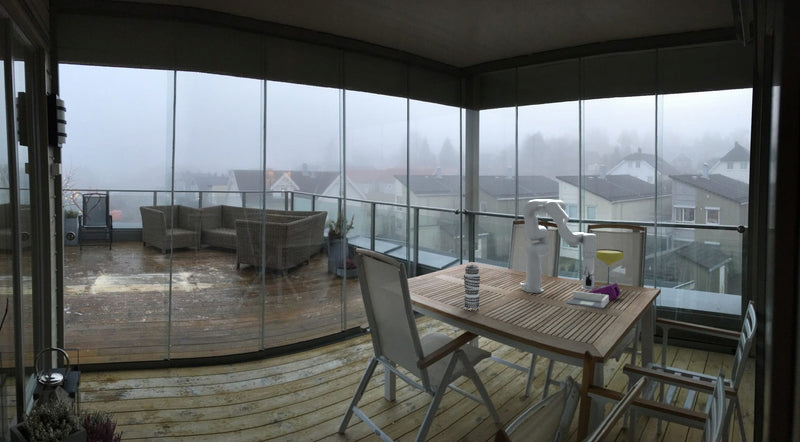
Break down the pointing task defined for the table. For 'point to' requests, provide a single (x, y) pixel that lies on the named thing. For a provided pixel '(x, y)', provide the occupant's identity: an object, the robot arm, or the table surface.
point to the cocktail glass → (609, 257)
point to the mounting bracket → (608, 291)
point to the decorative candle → (471, 286)
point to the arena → (589, 299)
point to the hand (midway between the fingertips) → (588, 285)
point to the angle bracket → (588, 286)
